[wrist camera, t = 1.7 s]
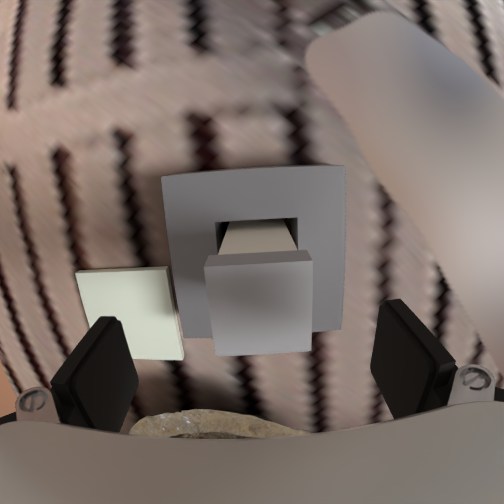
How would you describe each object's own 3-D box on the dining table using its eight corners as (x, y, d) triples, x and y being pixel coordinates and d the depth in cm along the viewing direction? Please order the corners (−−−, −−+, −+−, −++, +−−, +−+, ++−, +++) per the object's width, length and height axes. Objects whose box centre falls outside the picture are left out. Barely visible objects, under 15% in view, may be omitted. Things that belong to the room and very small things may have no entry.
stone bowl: (222, 504, 37) (214, 548, 28) (100, 412, 33) (70, 458, 24) (365, 452, 32) (378, 506, 23) (247, 325, 29) (237, 386, 20)
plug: (285, 213, 24) (312, 260, 13) (287, 268, 25) (311, 350, 14) (226, 216, 24) (203, 266, 13) (231, 272, 26) (215, 356, 14)
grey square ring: (330, 164, 23) (345, 165, 19) (330, 306, 26) (341, 329, 23) (175, 173, 23) (160, 176, 19) (192, 313, 27) (183, 337, 23)
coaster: (168, 266, 25) (165, 269, 25) (184, 355, 28) (182, 360, 27) (79, 270, 26) (75, 273, 25) (102, 351, 28) (99, 356, 27)
